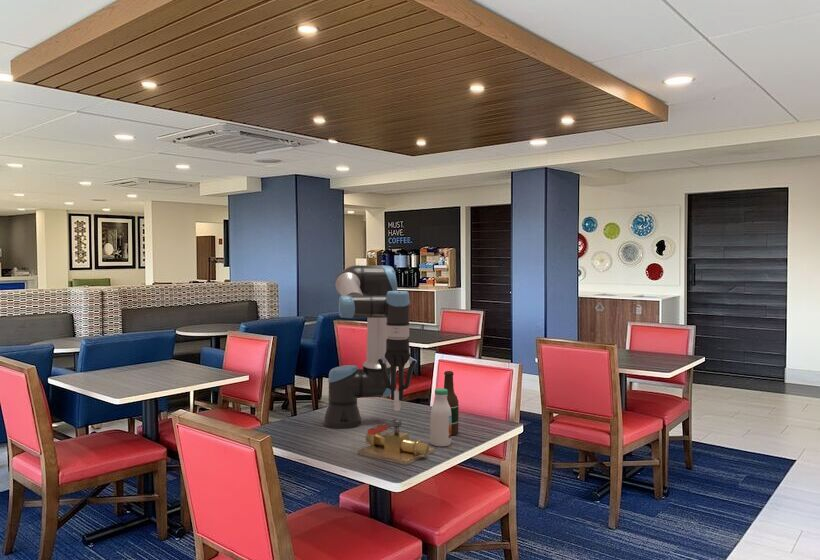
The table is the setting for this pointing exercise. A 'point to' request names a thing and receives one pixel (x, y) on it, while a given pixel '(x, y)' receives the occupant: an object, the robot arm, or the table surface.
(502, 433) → the table surface
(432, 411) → the milk bottle
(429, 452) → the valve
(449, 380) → the beer bottle
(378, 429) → the lever
